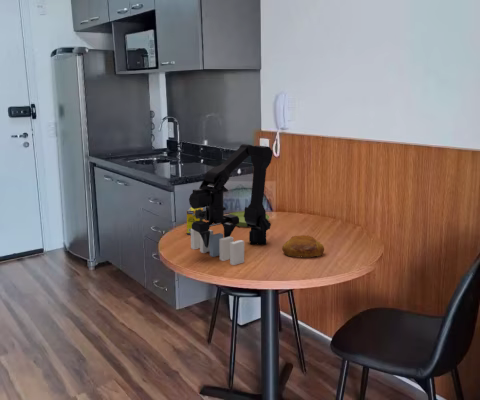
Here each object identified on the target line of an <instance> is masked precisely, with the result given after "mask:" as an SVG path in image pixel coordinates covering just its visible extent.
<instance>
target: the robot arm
mask: <svg viewBox="0 0 480 400" xmlns="http://www.w3.org/2000/svg"><path fill="white" fill-rule="evenodd" d="M273 154H274V153H273V150H272V148H271V147H270V146H267V145H266V146H265V145H258V144H257V145H252V144H248V143H244V144H243V143H242V144H241V145H240V146H239V148H237V149H236V150H235V151H234V152H233V153H232V154H231V155H230V156H228V158H226V159H225V161H224V162H223V163H222V164H219V165H218V166H214V167H212V168H210V169H209V170H208V171H207V172H206V173H205V174H204V178H203V180H202V182H201V184H200V186H199V189H192V193H191V194H190V195H189V198H188V201H189V205H190V208H193V209H197V208H205V210H203V211H202V210H201V209H200V210H196V211H195V217H196V219H198V218H199V219H200V221H195V222H193V223H192V229H193V230H195V231H197V232H199V233H200V235H201V237H202V239H203V242H204V245H205V247H207V248H208V245H209V237H210V231H208V230H210V228H211V227H215V226H219V225H221V226H222V227H223V238H225V237H229V236H230V237H231V235H232V233H233V231H234V229H235V228H236V227H238V226H237V225H236V224H239V218H238V216H235V215H232V214H230V213H228V214H225V213H224V212H225V211H226V210H227V209H226V208H227V207H226V206H224V205H225V204H224V193H227V192H228V191H229V190H228V188H226V187H225V185H226V184H227V182H228V181H229V180H230V177H231V175H232V173H233V172H234V171H235V170H236V169H237V168H238V167H239V166H240V165H242V163H244V162H245V160H246V159H247V158H249V157H250V161H251V165H252V166H253V173H252V174H253V176H252V185H251V194H250V196H251V197H250V203H249V204H248V206H245V207H244V211H245V213H244V217H245V221H246V223H247V227H246V228H250V230H249V232H248V233H249V234H248V236H249V238H248V239H249V243H250V245H264V246H265V245H267V241H268V240H267V231H268V230H270V229H271V227H272V223H270V221H269V219H268V220H267V219H266V214H267V211H266V209H265V206H264V196H265V186H266V178H267V177H266V176H267V169H268V167H269V166H270V165H271V162H272V160H273V159H272V158H273ZM201 220H203V221H201Z"/></svg>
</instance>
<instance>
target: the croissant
mask: <svg viewBox="0 0 480 400" xmlns="http://www.w3.org/2000/svg"><path fill="white" fill-rule="evenodd" d="M324 246H325V245H324V244H323V243H321V242H320V241H318V240H317V239H316V238H315V237H314V236H311V235H295V236H292V237H290V239H288V240H287V241H286V242H285V243H284V244H283V245H282V248H281V250H282V251H283V252H284V254H285V256H287V255H288V256H287V257H294V256H300V257H299V258H312V257H311V256H317V257H320V256H322V255H323V253H324V252H325V247H324ZM319 255H320V256H319ZM301 256H302V257H301ZM305 256H306V257H305Z"/></svg>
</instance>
